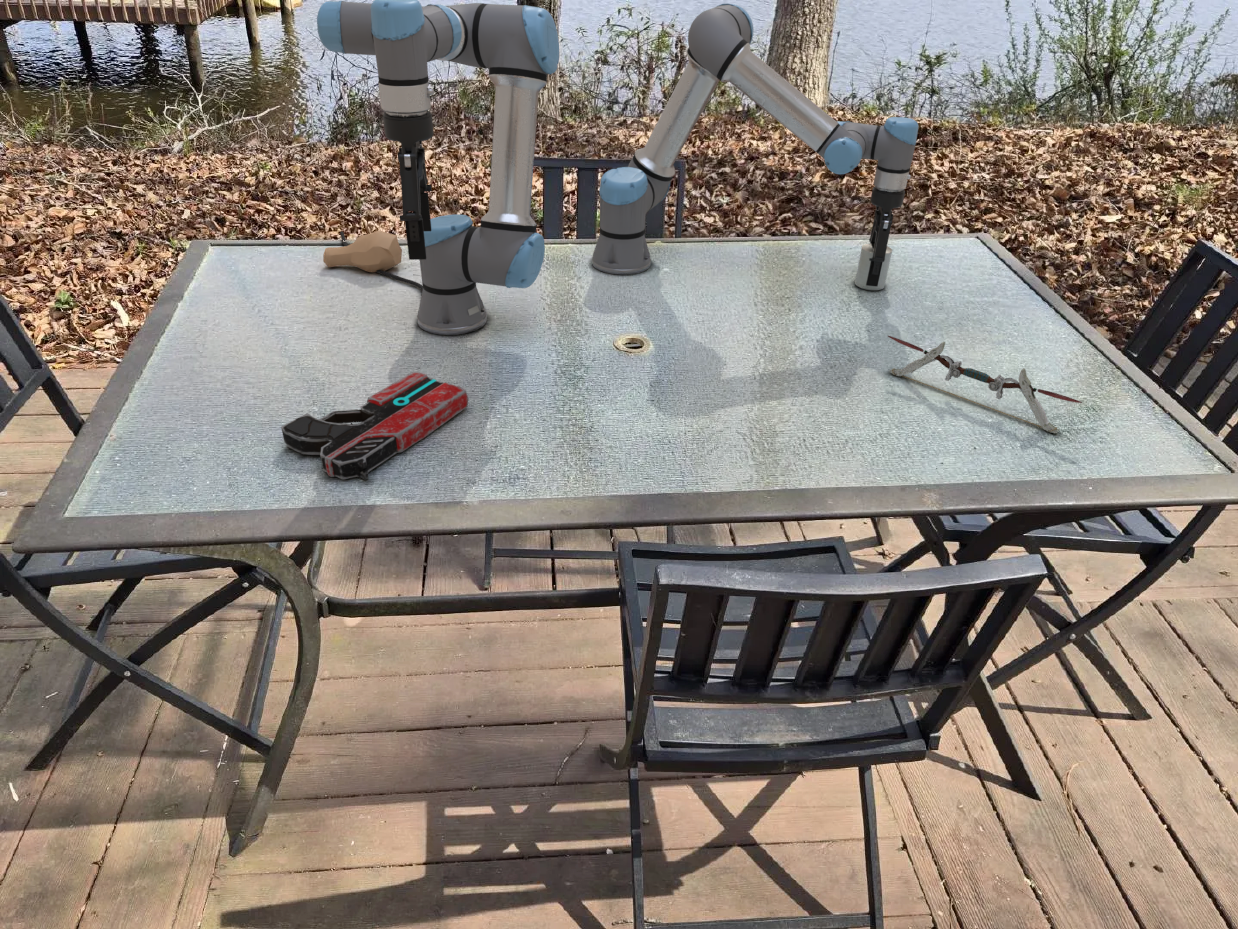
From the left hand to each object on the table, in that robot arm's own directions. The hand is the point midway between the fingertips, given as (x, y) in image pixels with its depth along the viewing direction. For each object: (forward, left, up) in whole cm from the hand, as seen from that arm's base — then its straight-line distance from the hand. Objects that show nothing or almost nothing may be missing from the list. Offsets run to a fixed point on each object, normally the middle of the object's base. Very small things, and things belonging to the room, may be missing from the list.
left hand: (420, 244), depth 148 cm
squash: (-71, +26, -32) cm, 82 cm away
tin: (+21, +116, -31) cm, 122 cm away
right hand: (+21, +116, -30) cm, 121 cm away
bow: (+67, +78, -32) cm, 108 cm away
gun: (0, -12, -32) cm, 34 cm away
